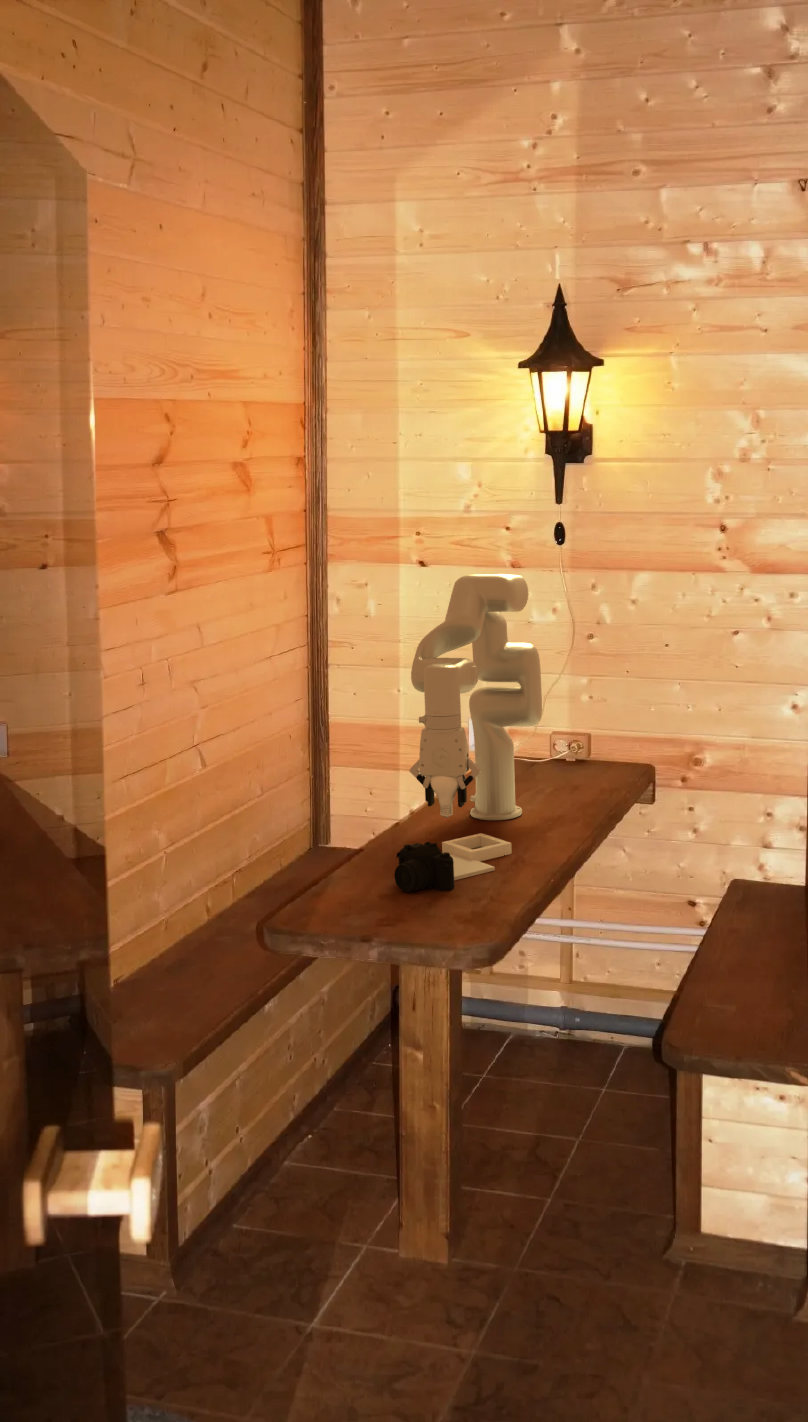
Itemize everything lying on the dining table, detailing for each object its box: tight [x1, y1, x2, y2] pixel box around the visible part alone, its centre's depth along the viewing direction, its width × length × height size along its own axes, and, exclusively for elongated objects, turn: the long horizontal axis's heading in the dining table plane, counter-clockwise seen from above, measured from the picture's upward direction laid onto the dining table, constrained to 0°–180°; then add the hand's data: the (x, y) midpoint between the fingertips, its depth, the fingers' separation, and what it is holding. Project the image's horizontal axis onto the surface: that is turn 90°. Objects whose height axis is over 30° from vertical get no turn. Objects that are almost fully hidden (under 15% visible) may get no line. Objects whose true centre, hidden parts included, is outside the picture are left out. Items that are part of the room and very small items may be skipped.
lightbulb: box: [430, 776, 459, 819], centre depth 311 cm, size 6×6×11 cm
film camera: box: [393, 841, 455, 893], centre depth 303 cm, size 15×10×9 cm, turn 44°
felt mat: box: [450, 854, 496, 881], centre depth 315 cm, size 14×14×1 cm
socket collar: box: [441, 832, 513, 862], centre depth 326 cm, size 11×11×2 cm
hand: (446, 804), depth 312 cm, fingers closed on lightbulb, 6 cm apart
